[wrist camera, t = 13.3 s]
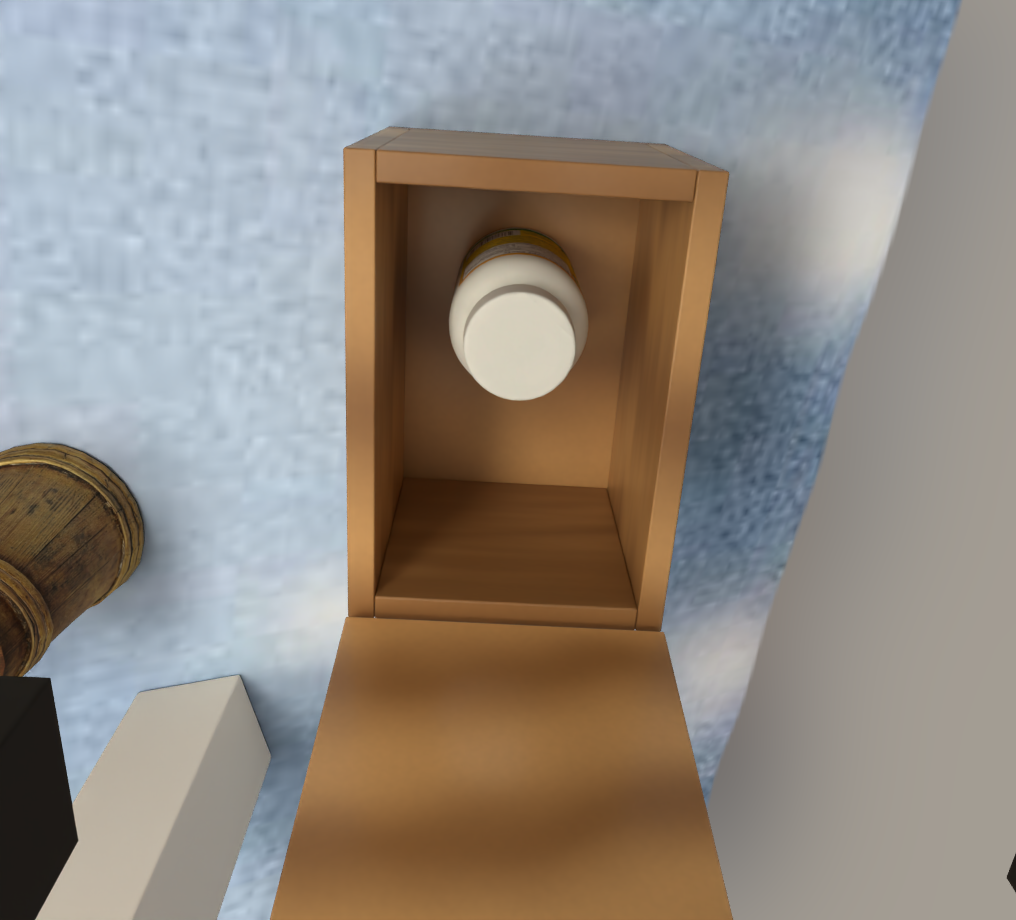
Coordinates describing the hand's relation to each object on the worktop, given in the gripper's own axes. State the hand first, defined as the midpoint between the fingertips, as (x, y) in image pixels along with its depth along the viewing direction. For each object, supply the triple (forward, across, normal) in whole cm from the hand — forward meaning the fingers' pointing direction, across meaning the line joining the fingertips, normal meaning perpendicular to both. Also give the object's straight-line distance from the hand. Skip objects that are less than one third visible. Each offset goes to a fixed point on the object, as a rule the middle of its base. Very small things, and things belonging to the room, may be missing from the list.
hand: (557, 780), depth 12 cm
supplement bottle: (+31, 0, 0) cm, 31 cm away
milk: (+32, -16, -26) cm, 45 cm away
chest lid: (+11, 0, -11) cm, 15 cm away
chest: (+32, 0, -2) cm, 32 cm away
